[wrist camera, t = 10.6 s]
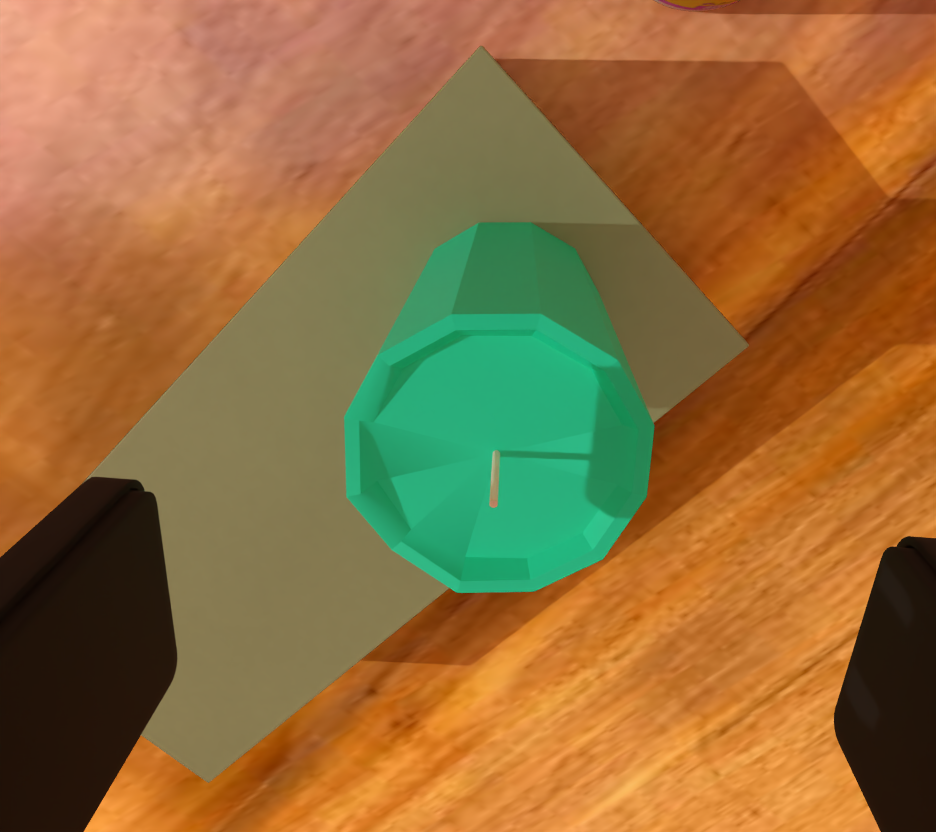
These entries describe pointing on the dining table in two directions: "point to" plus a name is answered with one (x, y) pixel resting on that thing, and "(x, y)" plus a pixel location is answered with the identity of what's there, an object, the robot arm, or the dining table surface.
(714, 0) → the supplement bottle
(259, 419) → the shelf
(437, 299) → the candle
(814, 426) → the dining table surface
